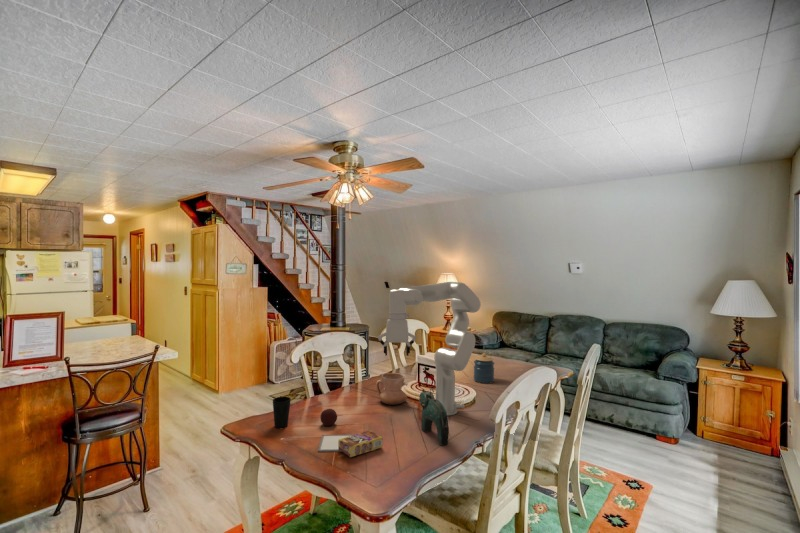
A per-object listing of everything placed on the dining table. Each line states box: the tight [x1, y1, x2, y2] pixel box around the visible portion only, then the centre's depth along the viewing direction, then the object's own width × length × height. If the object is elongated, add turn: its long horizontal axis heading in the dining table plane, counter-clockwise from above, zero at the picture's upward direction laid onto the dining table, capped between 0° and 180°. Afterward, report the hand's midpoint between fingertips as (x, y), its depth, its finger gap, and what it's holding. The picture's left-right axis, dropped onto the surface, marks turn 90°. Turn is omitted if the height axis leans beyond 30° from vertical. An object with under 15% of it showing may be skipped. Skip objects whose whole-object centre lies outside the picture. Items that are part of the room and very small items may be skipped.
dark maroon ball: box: [320, 408, 338, 427], centre depth 178 cm, size 7×8×7 cm
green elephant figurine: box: [418, 387, 450, 447], centre depth 168 cm, size 20×6×20 cm, turn 23°
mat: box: [317, 434, 376, 453], centre depth 160 cm, size 22×14×1 cm, turn 94°
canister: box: [473, 352, 495, 384], centre depth 251 cm, size 13×13×18 cm
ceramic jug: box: [375, 372, 409, 406], centre depth 209 cm, size 18×14×14 cm
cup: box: [272, 396, 291, 430], centre depth 175 cm, size 8×8×12 cm
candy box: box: [338, 429, 384, 458], centre depth 154 cm, size 9×4×15 cm
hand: (396, 354), depth 177 cm, fingers open, 9 cm apart
